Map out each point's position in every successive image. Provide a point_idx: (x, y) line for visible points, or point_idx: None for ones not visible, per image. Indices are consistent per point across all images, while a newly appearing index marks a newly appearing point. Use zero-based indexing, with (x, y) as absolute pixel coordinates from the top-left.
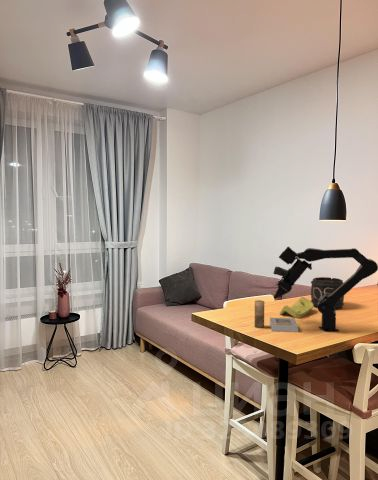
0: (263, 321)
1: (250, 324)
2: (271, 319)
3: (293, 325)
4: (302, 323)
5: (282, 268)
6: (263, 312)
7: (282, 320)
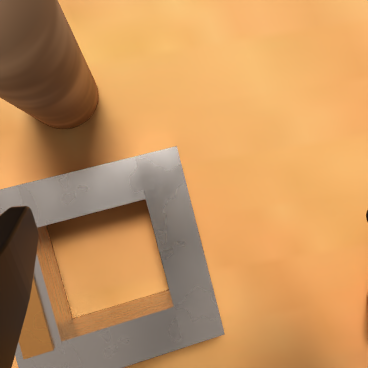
0: (36, 117)
1: (98, 23)
2: (120, 170)
3: (18, 363)
4: (260, 360)
5: None
6: (2, 97)
7: (159, 250)
